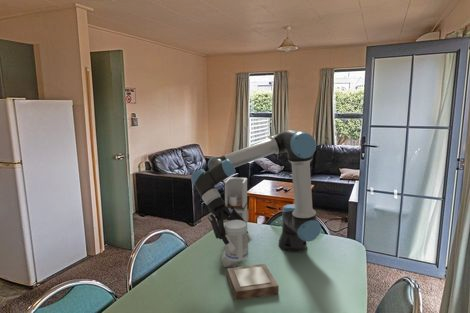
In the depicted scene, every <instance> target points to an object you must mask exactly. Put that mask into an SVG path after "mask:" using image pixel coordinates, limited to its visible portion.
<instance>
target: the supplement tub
mask: <svg viewBox="0 0 470 313" xmlns="http://www.w3.org/2000/svg"><path fill="white" fill-rule="evenodd" d="M224 230H225V236H226V235H228V237H229V238H230V240H231V242H232V243H233V245H234V246H235V248H236V249H235V250H234V251H232V252H231V251H230V250H229V248H228V246H227V245H225V244H224V250H225V255H226V258H227V259H228V260H230V261H237V262H241V261H245V260H246V259H247V258H248V256H249V250H248V249H249V248H248V247H249V246H248V245H249V243H248V237H247V231H248V222H247V223H246V222H244V221H242V220H231V221H229V220H227V221H225V223H224Z"/></svg>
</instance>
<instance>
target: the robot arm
mask: <svg viewBox="0 0 470 313" xmlns="http://www.w3.org/2000/svg"><path fill="white" fill-rule="evenodd" d="M316 149H317V142H316V140H315V137H314V136H313V135H311V134H310V133H308V132H306V131H303V130H295V129H289V130H284V131H282V132H280V133H277V134H274V135H271V136H269V138H268V139H266V140H262V141H261V142H257V143H255V144H252V145H250V146H246V147H244V148H241V149H238V150H236V151H232V152H230V153H227V154H224V155H222V156H219V157H217V156H213V157H211V158H210V159H209V160H208V162H207V168H208V170H207V171H206V170H205V169H203V168H202V169H201V168H200V169H199V170H196V171H195V172H193V173H192V175H191V176H190V180H191V183H192V184H193V186H194V187H195V189H196V192H198V194H199V196H200V197H201V199H202V201H203V203H204V204H205V205H206V207H207V208H208V211H209V212H210V213H211V214H210V215H209V216H208V217H207V219H208V220H209V222H210V225H211V227H212V230H213V233H214V236H215V239H219V240H222V242H223V244H224V246H225V245H227V246H228V248H229V250H230V251H231V252H232V251H234V250H235V249H236V248H235V246H234V245H233V243H232V242H231V240H230V238H229V237H228V235H226V236H225V230H224V227H225V223H224V221H225V220H226V221H231V220H242V221H244V222H246V221H245V220H244V219H243V218H242V217H241V216H240V215H239V214H238V213H237V212H236V211H235V209H234V207H231V208H227V207H226V204H225V199H223V197H221V193H220V192H219V191H218V189H217V188H216V186H217V185H218V184H220V183H221V182H224V181H226V180H227V179H228V178H229V177H232V176H233V175H234V174H235V173H236V169H235V168H237V167H241V166H242V165H246V164H248V163H251V162H254V161H257V160H259V159H262V158H266V157H267V156H270V155H273V154H275V155H279V154H281V153H282V154H283V153H287V161H288V162H289V163H290V164H291V174H292V176H291V177H292V186H293V187H292V188H293V189H292V190H293V199H294V200H293V202H294V204H293V203H292V204H291V203H290V204H286V205H283V207H282V214H281V216H282V218H281V220H282V221H281V222H282V224H281V228H282V229H281V233H280V236H279V240H278V246H279V248H281V249H282V250H284V251H287V252H293V253H294V252H302V251H304V250H306V249H307V244H308V243H309V242H313V241H315V240H316V239H317V238H318V237H320V234H321V232H322V226H321V223H320V222H319V221H318V219H317V211H316V210H315V209H314V208H313V195H312V193H313V192H312V181H311V180H312V178H311V166H310V165H311V164H310V163H311V162H312V160H313V158H314V157H313V155H314V153H315V152H316ZM247 237H248V244H249V243H250V242H251V241H252V240H253V239H252V237H251V236H250V234H249V231H248V230H247Z"/></svg>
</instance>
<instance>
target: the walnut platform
mask: <svg viewBox="0 0 470 313" xmlns="http://www.w3.org/2000/svg"><path fill="white" fill-rule="evenodd" d="M226 268H227V269H226V274H227V276H226V277H227V279H228V283H229V285H230V289H231V291H232V293H233V296H234V299H235V301H244V300H251V299H258V298H265V297H271V296H277V295H279V284H278V282H277V280H276V279H275V277H274V276H273V274H272V273H271V271H270V269H269V268H268V266H267V264H266V263H261V264H260V263H259V264H251V265H245V266H237V267H236V266H235V267H226Z"/></svg>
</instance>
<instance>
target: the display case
mask: <svg viewBox="0 0 470 313" xmlns="http://www.w3.org/2000/svg"><path fill="white" fill-rule="evenodd" d="M224 202H225V204H226V207H227V208H231V207H234V209H235V211H236V212H237V213H238V214H239V215H240V216H241V217H242V218H243V219H244V220H245V221H246V223H247V224H248V178H247V177H232V176H230V177H228V178H227V179H225V180H224Z"/></svg>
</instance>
